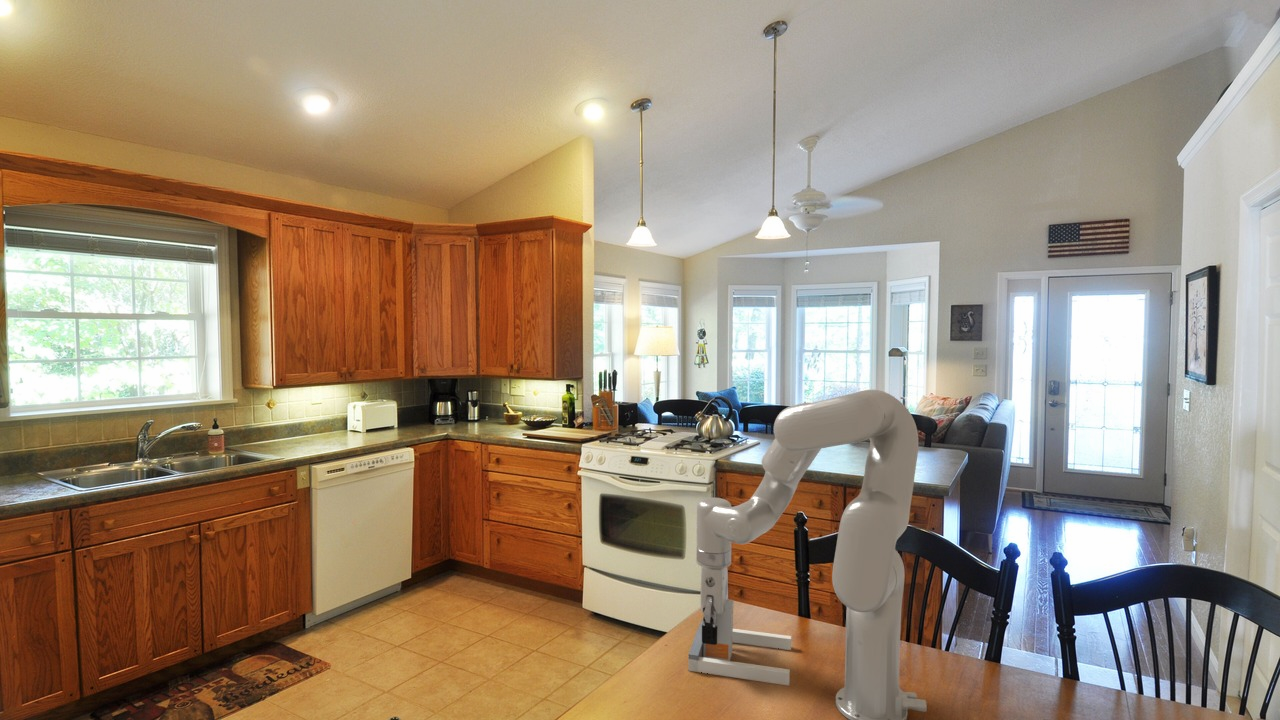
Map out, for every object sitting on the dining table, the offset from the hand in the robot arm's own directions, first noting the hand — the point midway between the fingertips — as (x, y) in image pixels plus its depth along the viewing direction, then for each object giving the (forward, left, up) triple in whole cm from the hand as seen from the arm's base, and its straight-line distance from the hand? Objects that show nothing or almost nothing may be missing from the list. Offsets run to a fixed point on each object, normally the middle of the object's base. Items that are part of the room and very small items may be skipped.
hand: (712, 632), depth 136 cm
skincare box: (-1, 0, -5) cm, 5 cm away
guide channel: (-7, 0, -5) cm, 8 cm away
